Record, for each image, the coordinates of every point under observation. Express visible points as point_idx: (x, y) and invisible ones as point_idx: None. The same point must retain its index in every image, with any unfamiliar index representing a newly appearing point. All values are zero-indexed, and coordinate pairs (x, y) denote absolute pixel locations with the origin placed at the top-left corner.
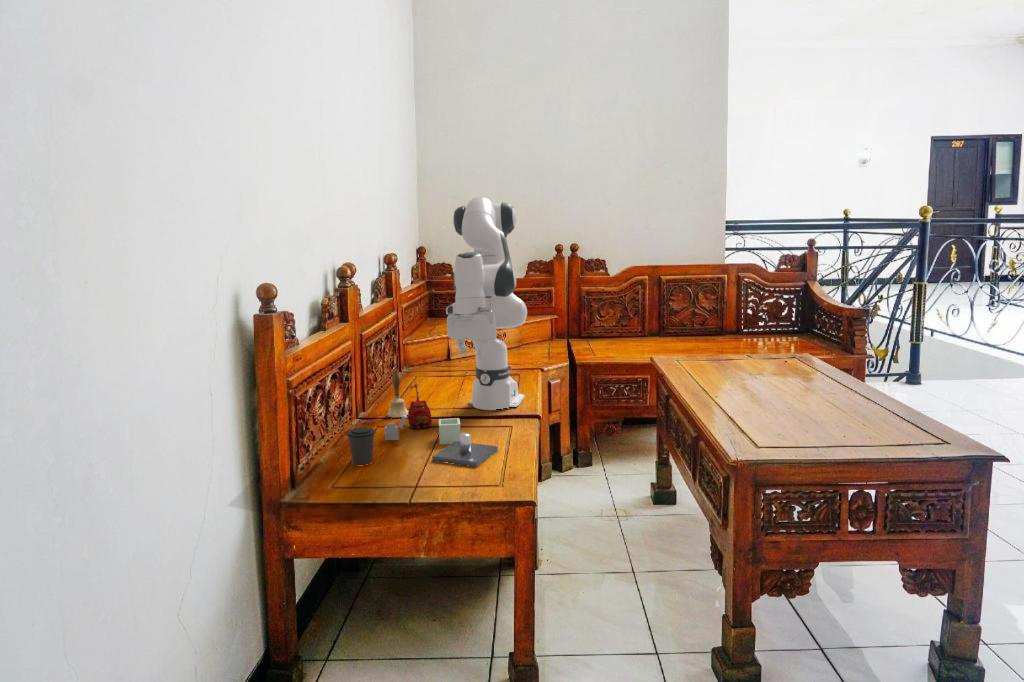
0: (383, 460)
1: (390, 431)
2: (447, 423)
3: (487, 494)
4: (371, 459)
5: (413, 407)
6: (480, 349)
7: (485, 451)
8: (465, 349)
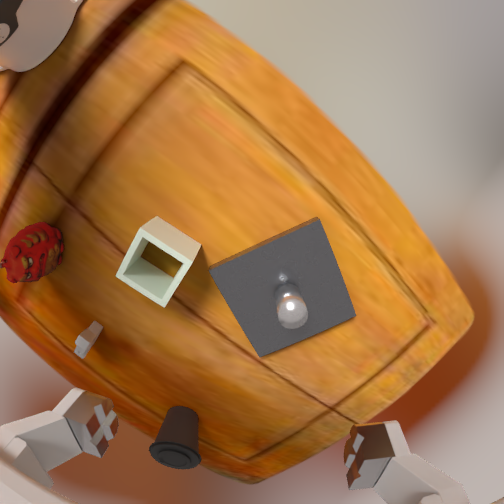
0: (192, 396)
1: (90, 347)
2: (134, 256)
3: (431, 352)
4: (194, 416)
5: (24, 280)
6: (384, 486)
7: (325, 264)
8: (95, 429)
